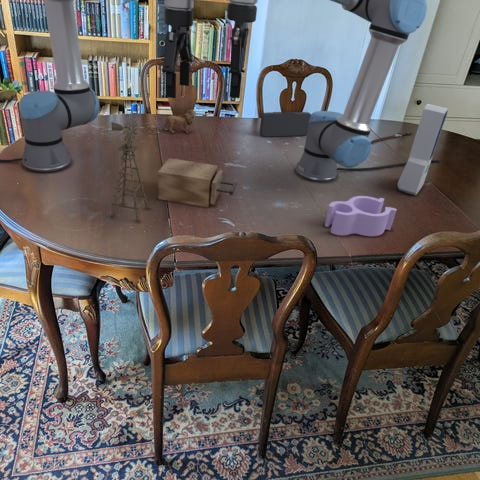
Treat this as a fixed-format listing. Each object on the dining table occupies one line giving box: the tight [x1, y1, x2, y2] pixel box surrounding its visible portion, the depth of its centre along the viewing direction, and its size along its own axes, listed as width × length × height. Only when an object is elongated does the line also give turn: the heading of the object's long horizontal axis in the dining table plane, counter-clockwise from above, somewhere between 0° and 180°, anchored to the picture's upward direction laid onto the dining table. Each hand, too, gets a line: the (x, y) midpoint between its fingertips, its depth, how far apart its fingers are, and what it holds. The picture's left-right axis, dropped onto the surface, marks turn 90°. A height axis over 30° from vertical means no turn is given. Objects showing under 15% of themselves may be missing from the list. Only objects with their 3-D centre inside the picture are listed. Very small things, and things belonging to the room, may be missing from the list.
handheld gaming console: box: [258, 111, 312, 137], centre depth 202 cm, size 23×3×10 cm, turn 108°
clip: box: [324, 195, 398, 237], centre depth 141 cm, size 20×12×7 cm, turn 109°
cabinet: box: [157, 157, 219, 208], centre depth 147 cm, size 16×11×9 cm
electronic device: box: [396, 103, 449, 196], centre depth 162 cm, size 12×8×30 cm, turn 148°
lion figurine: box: [161, 109, 197, 134], centre depth 194 cm, size 15×5×9 cm, turn 110°
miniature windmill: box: [110, 111, 149, 222], centre depth 129 cm, size 9×8×30 cm
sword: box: [370, 132, 414, 145], centre depth 214 cm, size 31×3×1 cm, turn 126°
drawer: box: [209, 169, 238, 205], centre depth 147 cm, size 20×10×8 cm, turn 80°
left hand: (177, 91), depth 133 cm, fingers open, 13 cm apart
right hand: (234, 96), depth 131 cm, fingers closed
